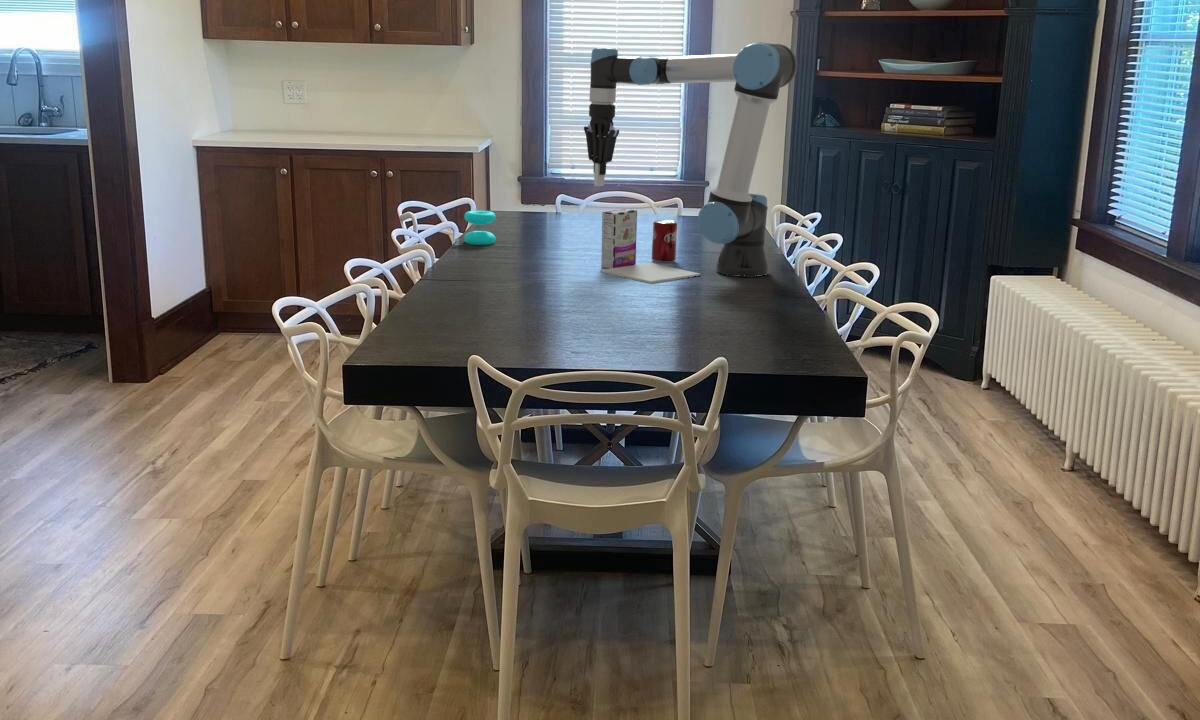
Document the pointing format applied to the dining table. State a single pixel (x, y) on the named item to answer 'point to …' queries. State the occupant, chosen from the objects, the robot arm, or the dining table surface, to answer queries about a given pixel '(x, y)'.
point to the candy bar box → (619, 238)
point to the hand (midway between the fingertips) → (599, 185)
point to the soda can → (664, 241)
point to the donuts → (479, 236)
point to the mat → (650, 272)
